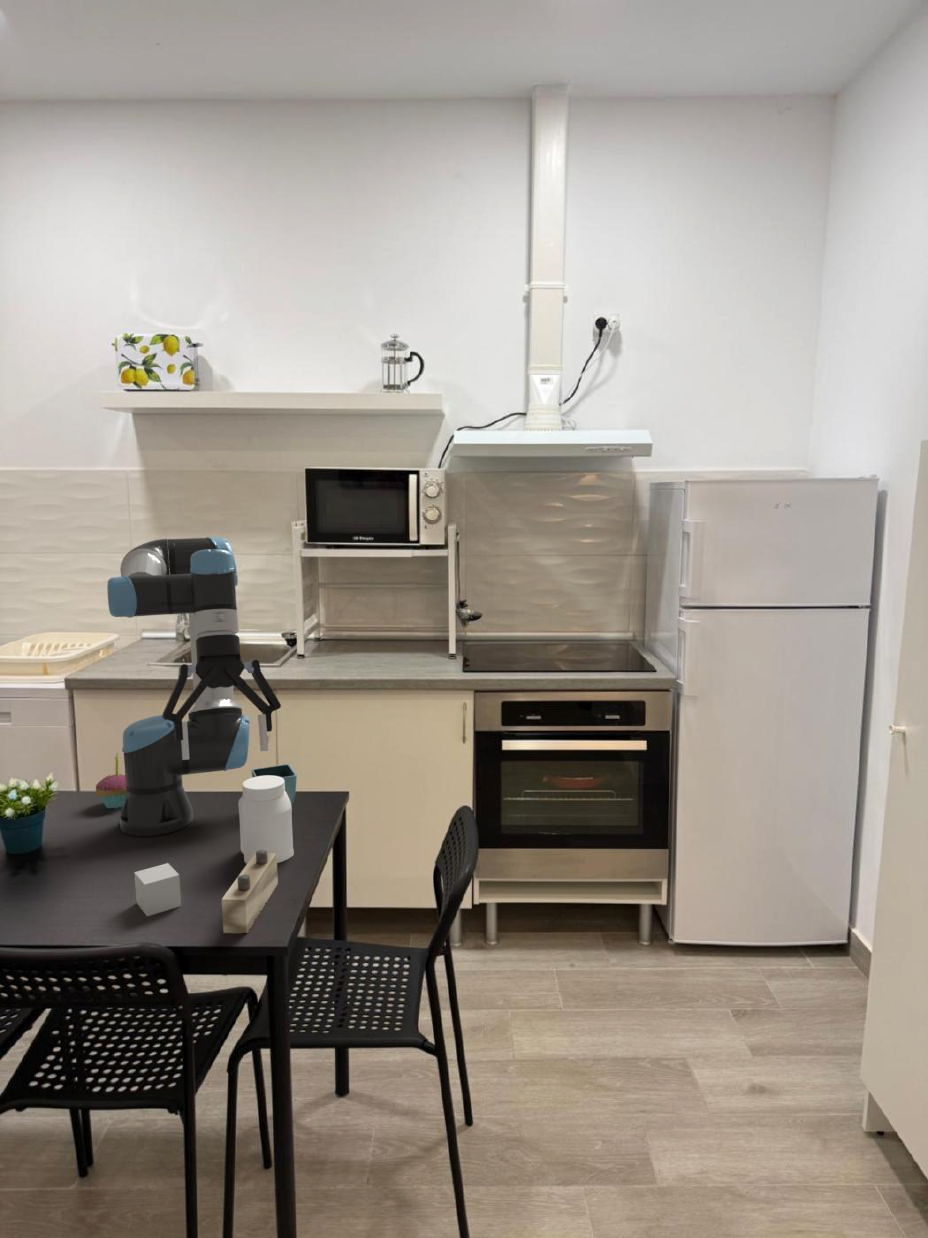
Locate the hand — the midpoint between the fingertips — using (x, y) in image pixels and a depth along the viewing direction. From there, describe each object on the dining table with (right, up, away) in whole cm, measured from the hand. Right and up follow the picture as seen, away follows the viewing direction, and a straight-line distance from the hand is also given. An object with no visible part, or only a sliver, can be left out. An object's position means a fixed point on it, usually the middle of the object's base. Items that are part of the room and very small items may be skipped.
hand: (226, 755), depth 151 cm
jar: (+2, -24, +23) cm, 33 cm away
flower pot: (-1, -20, +46) cm, 50 cm away
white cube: (-12, -27, +2) cm, 30 cm away
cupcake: (-39, -20, +49) cm, 66 cm away
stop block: (+4, -27, +1) cm, 27 cm away
